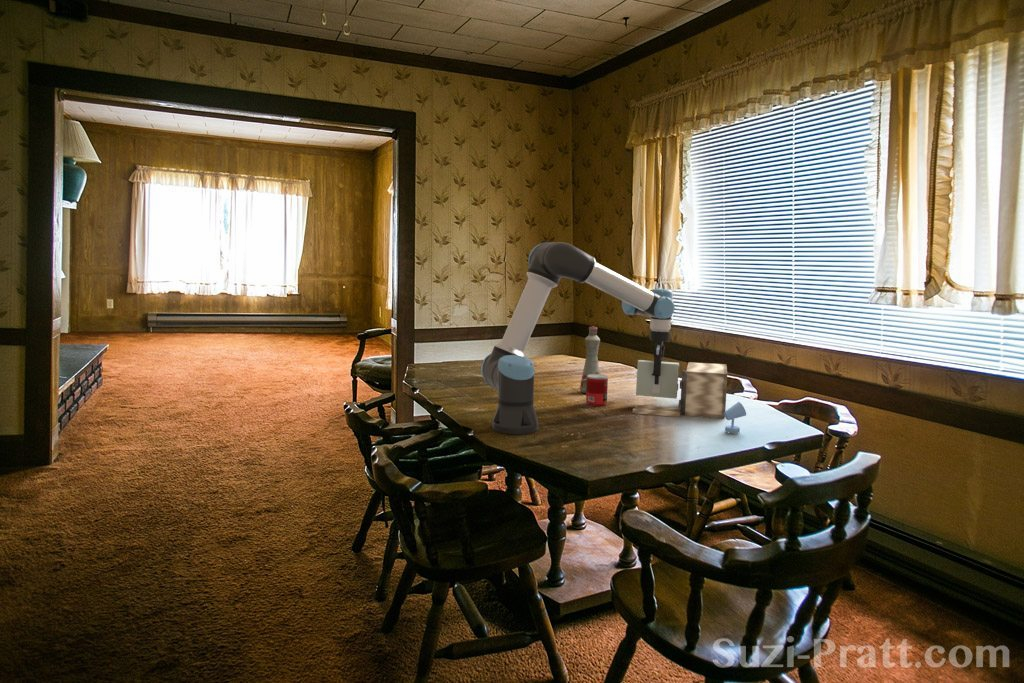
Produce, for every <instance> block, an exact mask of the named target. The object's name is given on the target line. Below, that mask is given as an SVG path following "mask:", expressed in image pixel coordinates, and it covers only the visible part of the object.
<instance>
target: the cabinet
mask: <svg viewBox="0 0 1024 683" xmlns="http://www.w3.org/2000/svg"><path fill="white" fill-rule="evenodd" d="M727 385H728V366H727V364H726V363H710V362H693V361H690V362H689V361H688V364H687V367H686V370H682V371H681V380H679V389H680V399H679V400H678V407H672V406H671V407H670V406H669V407H668V406H655V405H646V404H644V405H643V404H635V405H634V408H632V414H640V415H650V416H652V415H653V416H662V417H663V416H664V417H665V416H666V417H677V418H679V417H681V416H689V417H699V416H703V417H702V418H712V417H719V418H718V419H724V418H725V416H724V412H725V411H726V408H727V405H726V404H727V390H728V389H727V387H728V386H727ZM725 419H726V418H725Z"/></svg>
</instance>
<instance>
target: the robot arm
mask: <svg viewBox="0 0 1024 683" xmlns="http://www.w3.org/2000/svg"><path fill="white" fill-rule="evenodd" d="M527 262H528V268H527V271H526V276H527V278H528V279H527V281H526V284H525V287H524V289H523V290H522V293H521V296H520V298H519V300H518V303H517V304H516V307H515V309H514V312H513V314H512V316H511V319H510V320H509V323H508V324H507V325H508V326H507V328H506V329H505V332H504V334H503V337H502V338H501V341H500V342H499V343H497V344H494V346H493V349H492V350H491V353H490V354H488V355H486V357H484V359H483V361H482V363H481V367H480V372H481V376H482V378H483V380H484V382H485V383H486V384H487V385H488V386H490V387H491V388H493V389H496V390H497V407H496V410H495V413H494V416H493V419H492V421H491V422H492V423H491V425H492V430H493V431H495V432H496V433H497V432H498V433H501V434H508V435H527V434H531V433H535V432H537V431H538V430H539V418H538V415H537V413H536V410H535V406H534V399H535V397H534V394H535V393H534V392H535V391H534V390H535V372H536V371H535V364H534V361H533V360H532V359H531V358H529V357H527V356H525V350H526V347H527V346H528V343H529V341H530V338H531V335H532V334H533V331H534V329H535V327H536V325H537V323H538V320H539V317H540V316H541V314H542V311H543V308H544V307H545V304H546V302H547V299H548V297H549V295H550V293H551V291H552V289H553V288H557V287H558V285H559V283H560V281H561V279H562V278H564V279H569V280H573V281H575V282H577V283H580V284H584V283H586V284H588V285H589V286H592V287H594V288H595V289H598V290H599V291H603V293H605V294H607V295H610V296H612V297H613V298H615V299H618V300H620V301H621V309H622V311H623V313H624V314H625V315H631V316H636V315H637V316H638V315H639V316H643V317H650V321H649V322H650V324H649V329H650V330H649V340H650V341H653V342H655V344H654V345H653V361H654V370H653V374H652V375H653V390H652V393H660V381H661V376H660V375H661V362H664V361H663V360H664V356H665V351H666V350H665V349H666V345H664V342H670V341H671V331H670V330H672V329H671V328H672V327H671V325H674V324H673V321H672V316H673V314H674V312H675V302H674V300H673V291H672V290H671V289H669V288H666V289H665V288H653V289H652V290H650V289H647V288H646V287H644V286H642V285H641V284H638V283H637V282H635V281H633V280H632V279H629V278H627V277H625V276H623V275H621V274H620V273H617V272H616V271H614V270H612V269H610V268H609V267H606V266H605V265H602V264H600V263H599V262H597V261H596V258H595V256H592V255H590V253H589V254H588V253H587V252H585V251H584V250H581V249H580V248H578V247H576V246H575V245H573V244H570V243H567V242H562V241H558V242H557V241H556V242H553V241H552V242H551V241H545V242H542V243H539V244H537V245H535V246H534V247H533V248H532V249H531V251H530V252H529V255H528V261H527Z"/></svg>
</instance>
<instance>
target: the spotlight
mask: <svg viewBox="0 0 1024 683" xmlns="http://www.w3.org/2000/svg"><path fill="white" fill-rule="evenodd" d="M724 416H725V419H726V420H727V421H731V425H725V426H724V432H725V431H726V432H729V433H728V434H730V433H738V432H739V433H740V431H741V430H740V429H741V428H740V426H737V425H735V419H738V418H742V417H745V416H747V412H746V409H745V407H744V405H743V404H742V403H741V402H740V401H738V402H736V403H735V404H733V405H732V406H731V407H729V408H728V409H727V410H726V409H725V412H724ZM726 432H725V433H726Z"/></svg>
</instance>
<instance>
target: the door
mask: <svg viewBox="0 0 1024 683" xmlns="http://www.w3.org/2000/svg"><path fill="white" fill-rule="evenodd" d="M636 369H637V371H636V387H635V396H641V397H653V398H654V397H655V398H663V399H664V398H665V399H675V400H676V399H678V398H677V397H678V391H679V373H680V362H675V361H674V362H673V361H672V362H671V361H663V362H661V375H660V376H661V381H660V393H652V390H653V375H652V374H653V370H654V360H643V359H638V360H637V368H636Z"/></svg>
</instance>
